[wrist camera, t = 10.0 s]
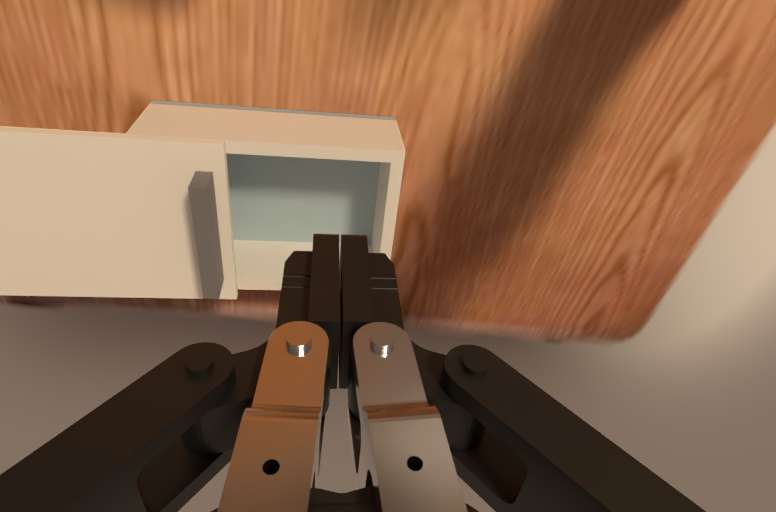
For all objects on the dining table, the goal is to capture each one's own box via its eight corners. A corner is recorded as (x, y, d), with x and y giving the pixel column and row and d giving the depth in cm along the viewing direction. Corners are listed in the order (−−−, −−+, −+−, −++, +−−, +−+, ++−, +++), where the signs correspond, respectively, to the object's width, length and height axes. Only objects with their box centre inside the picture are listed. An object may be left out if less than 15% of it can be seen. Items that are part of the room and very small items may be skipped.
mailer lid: (225, 139, 36) (217, 160, 33) (238, 293, 44) (232, 319, 42) (-90, 120, 33) (-126, 141, 31) (-13, 288, 42) (-36, 316, 39)
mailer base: (395, 117, 44) (405, 151, 38) (379, 248, 52) (385, 292, 46) (152, 99, 41) (124, 134, 35) (175, 241, 49) (156, 287, 44)
